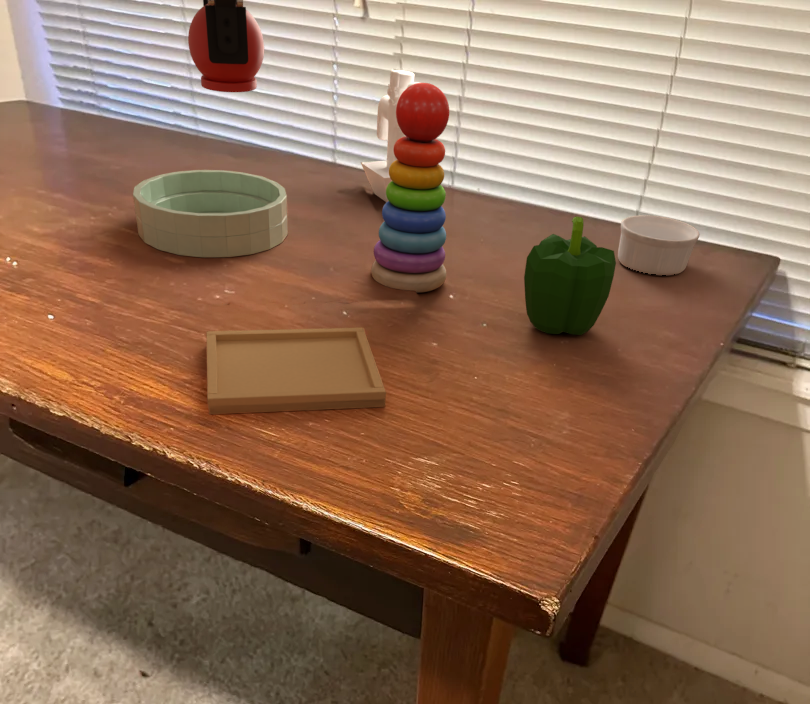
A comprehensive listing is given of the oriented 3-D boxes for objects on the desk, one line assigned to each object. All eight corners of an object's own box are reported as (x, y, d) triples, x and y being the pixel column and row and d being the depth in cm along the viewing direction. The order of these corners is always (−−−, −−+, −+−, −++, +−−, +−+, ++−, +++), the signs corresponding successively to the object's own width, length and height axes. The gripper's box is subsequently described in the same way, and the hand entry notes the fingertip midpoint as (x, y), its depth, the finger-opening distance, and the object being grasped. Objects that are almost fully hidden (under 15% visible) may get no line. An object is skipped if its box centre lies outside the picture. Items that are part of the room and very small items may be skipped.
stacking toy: (440, 300, 83) (459, 96, 72) (364, 290, 84) (371, 87, 72) (449, 272, 90) (468, 80, 78) (378, 263, 90) (386, 72, 78)
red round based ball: (192, 93, 69) (183, -12, 64) (191, 78, 74) (182, -21, 69) (268, 95, 70) (265, -8, 65) (262, 80, 75) (258, -17, 70)
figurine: (403, 184, 114) (410, 62, 105) (435, 205, 108) (446, 77, 98) (356, 188, 111) (359, 63, 102) (386, 210, 105) (392, 78, 95)
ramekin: (626, 245, 100) (634, 209, 97) (697, 262, 97) (708, 225, 94) (602, 266, 94) (610, 228, 91) (677, 285, 91) (688, 246, 88)
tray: (208, 414, 63) (207, 398, 62) (207, 345, 72) (206, 331, 72) (385, 407, 66) (386, 391, 65) (363, 341, 75) (363, 327, 74)
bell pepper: (585, 353, 76) (608, 246, 70) (504, 330, 79) (520, 225, 72) (613, 322, 82) (637, 221, 75) (537, 302, 85) (554, 203, 78)
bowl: (135, 263, 86) (128, 215, 83) (143, 212, 98) (137, 169, 95) (293, 262, 89) (292, 215, 86) (281, 213, 101) (280, 170, 98)
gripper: (156, -225, 65) (181, 37, 76) (152, -246, 52) (183, 73, 63) (252, -215, 66) (262, 40, 78) (271, -233, 53) (280, 76, 65)
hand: (226, 53), depth 70 cm, fingers closed on red round based ball, 6 cm apart
